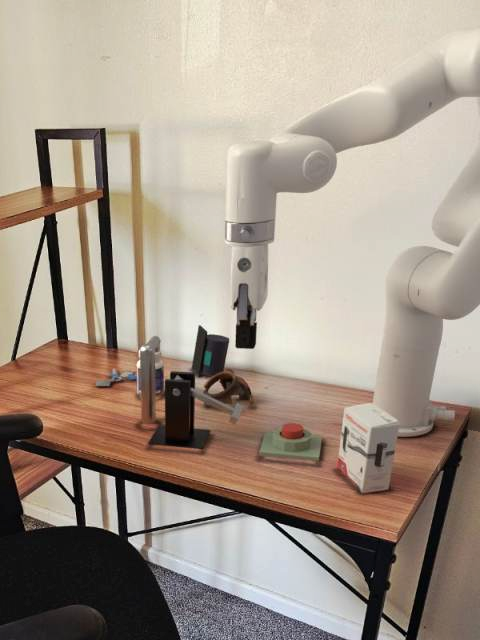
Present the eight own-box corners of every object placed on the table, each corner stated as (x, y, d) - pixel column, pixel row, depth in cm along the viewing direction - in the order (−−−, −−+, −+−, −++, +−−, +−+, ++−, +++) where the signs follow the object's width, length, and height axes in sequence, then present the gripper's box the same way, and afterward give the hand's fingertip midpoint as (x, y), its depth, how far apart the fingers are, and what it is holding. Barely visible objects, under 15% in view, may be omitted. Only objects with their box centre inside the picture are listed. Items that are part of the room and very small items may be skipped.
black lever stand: (210, 435, 133) (212, 370, 127) (202, 454, 127) (204, 386, 120) (158, 431, 136) (158, 367, 130) (148, 449, 130) (147, 382, 123)
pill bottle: (168, 397, 150) (168, 352, 145) (144, 402, 148) (143, 357, 143) (156, 389, 155) (156, 344, 150) (132, 393, 153) (131, 349, 148)
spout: (167, 412, 144) (167, 333, 135) (156, 431, 136) (156, 348, 128) (146, 410, 145) (145, 332, 136) (134, 429, 137) (132, 347, 129)
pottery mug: (259, 416, 140) (243, 387, 135) (215, 434, 144) (198, 406, 139) (253, 380, 149) (238, 351, 144) (212, 398, 152) (195, 370, 148)
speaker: (189, 377, 159) (195, 331, 154) (191, 369, 164) (196, 324, 159) (223, 380, 158) (230, 334, 153) (224, 373, 163) (230, 328, 158)
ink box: (334, 470, 119) (343, 405, 113) (362, 466, 120) (372, 401, 113) (360, 494, 112) (371, 426, 106) (389, 490, 112) (402, 422, 106)
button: (303, 432, 125) (304, 423, 124) (301, 441, 122) (302, 432, 121) (282, 431, 126) (283, 422, 125) (280, 439, 123) (281, 430, 122)
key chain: (99, 389, 156) (99, 386, 156) (82, 379, 162) (82, 375, 162) (153, 376, 161) (153, 373, 161) (135, 366, 168) (135, 363, 167)
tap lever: (238, 414, 128) (244, 403, 127) (233, 427, 123) (239, 416, 122) (174, 382, 129) (179, 371, 128) (166, 394, 124) (172, 383, 123)
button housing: (321, 443, 128) (323, 425, 126) (318, 466, 121) (320, 447, 119) (264, 438, 131) (266, 421, 129) (258, 460, 123) (259, 442, 122)
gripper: (268, 241, 102) (262, 363, 112) (279, 222, 114) (273, 333, 124) (216, 242, 104) (215, 361, 114) (233, 223, 116) (230, 332, 126)
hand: (245, 346), depth 119 cm, fingers closed
